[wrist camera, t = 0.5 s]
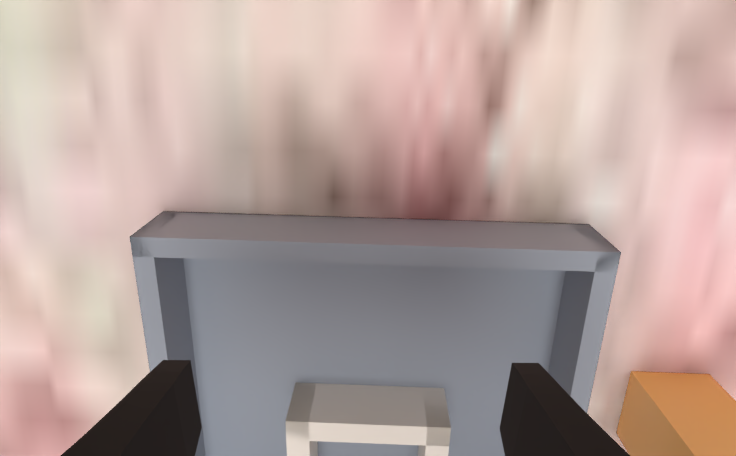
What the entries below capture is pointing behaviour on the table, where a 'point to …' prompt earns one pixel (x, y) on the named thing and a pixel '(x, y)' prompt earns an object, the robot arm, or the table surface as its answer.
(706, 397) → the connector
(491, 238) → the tray
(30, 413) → the table surface
